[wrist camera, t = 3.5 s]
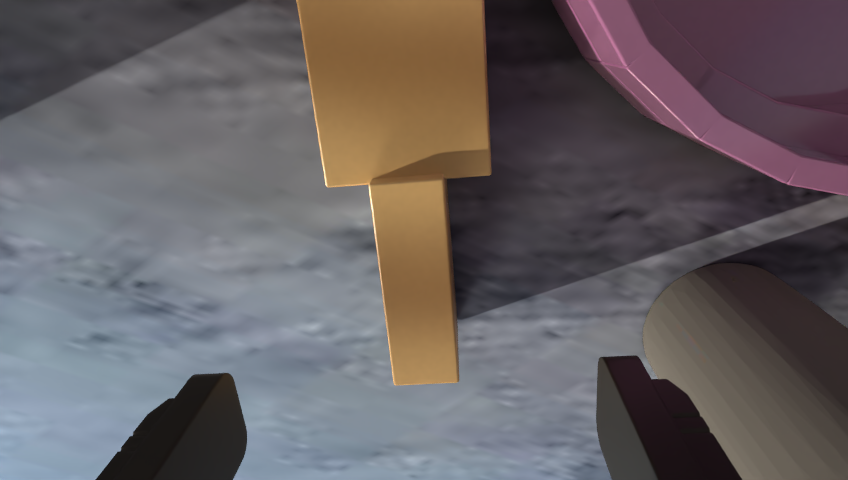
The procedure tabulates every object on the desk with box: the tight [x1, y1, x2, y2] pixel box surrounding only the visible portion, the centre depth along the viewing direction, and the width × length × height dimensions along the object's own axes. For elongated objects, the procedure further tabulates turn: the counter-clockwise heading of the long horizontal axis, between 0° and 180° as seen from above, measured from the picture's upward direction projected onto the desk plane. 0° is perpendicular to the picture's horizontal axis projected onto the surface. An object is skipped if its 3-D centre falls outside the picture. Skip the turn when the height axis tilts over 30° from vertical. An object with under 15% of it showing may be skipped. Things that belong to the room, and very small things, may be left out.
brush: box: [297, 0, 492, 385], centre depth 18 cm, size 12×5×4 cm, turn 5°
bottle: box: [643, 263, 848, 480], centre depth 14 cm, size 6×6×15 cm
